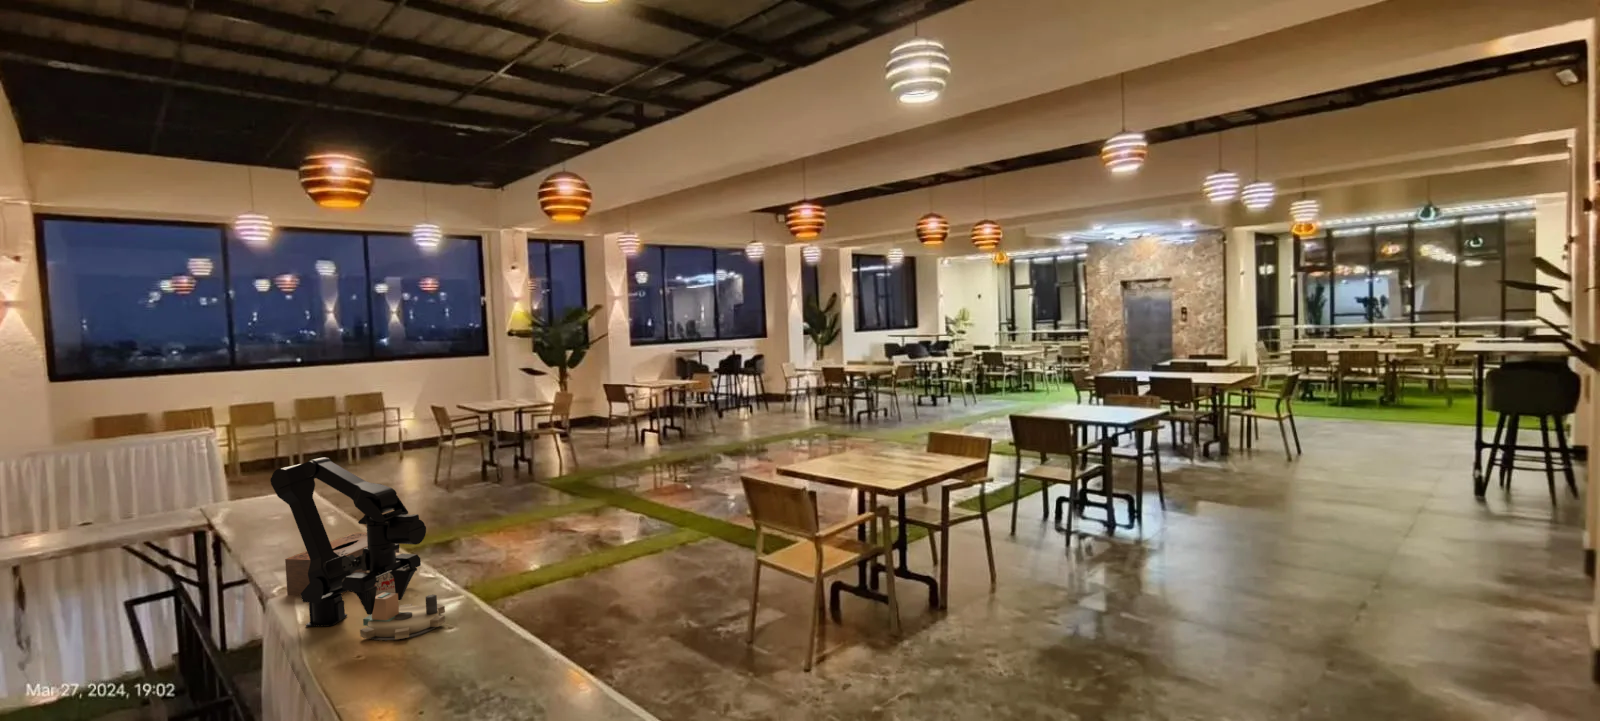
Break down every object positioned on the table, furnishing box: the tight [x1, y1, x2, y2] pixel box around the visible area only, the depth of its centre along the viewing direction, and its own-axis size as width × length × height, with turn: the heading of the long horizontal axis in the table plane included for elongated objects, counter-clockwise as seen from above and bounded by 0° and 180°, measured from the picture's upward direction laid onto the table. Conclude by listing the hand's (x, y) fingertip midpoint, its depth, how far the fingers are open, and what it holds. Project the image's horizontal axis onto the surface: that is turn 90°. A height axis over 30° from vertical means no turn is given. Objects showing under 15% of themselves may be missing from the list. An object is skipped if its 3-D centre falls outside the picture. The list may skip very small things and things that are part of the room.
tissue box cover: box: [284, 531, 400, 596], centre depth 218 cm, size 26×14×10 cm, turn 171°
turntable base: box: [370, 627, 437, 642], centre depth 183 cm, size 16×16×1 cm
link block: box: [372, 592, 399, 620], centre depth 183 cm, size 4×4×5 cm
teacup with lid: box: [367, 552, 401, 596], centre depth 209 cm, size 12×9×12 cm
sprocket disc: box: [359, 594, 446, 641], centre depth 183 cm, size 19×18×6 cm
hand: (384, 607), depth 183 cm, fingers open, 9 cm apart
